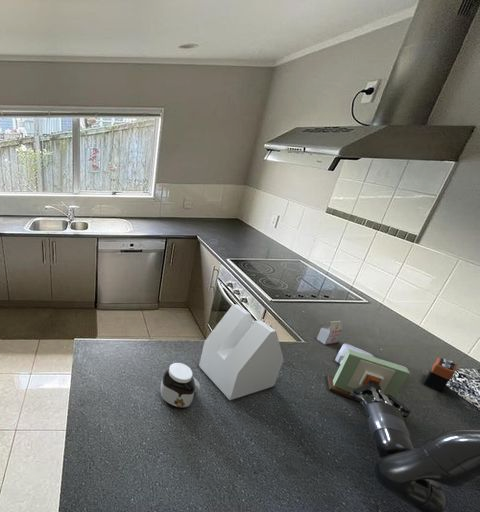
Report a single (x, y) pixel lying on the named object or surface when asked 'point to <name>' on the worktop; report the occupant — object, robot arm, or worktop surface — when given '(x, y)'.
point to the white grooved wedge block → (241, 354)
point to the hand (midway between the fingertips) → (371, 383)
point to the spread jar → (178, 386)
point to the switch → (371, 379)
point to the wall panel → (362, 365)
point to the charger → (344, 350)
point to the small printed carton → (330, 332)
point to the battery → (440, 374)
